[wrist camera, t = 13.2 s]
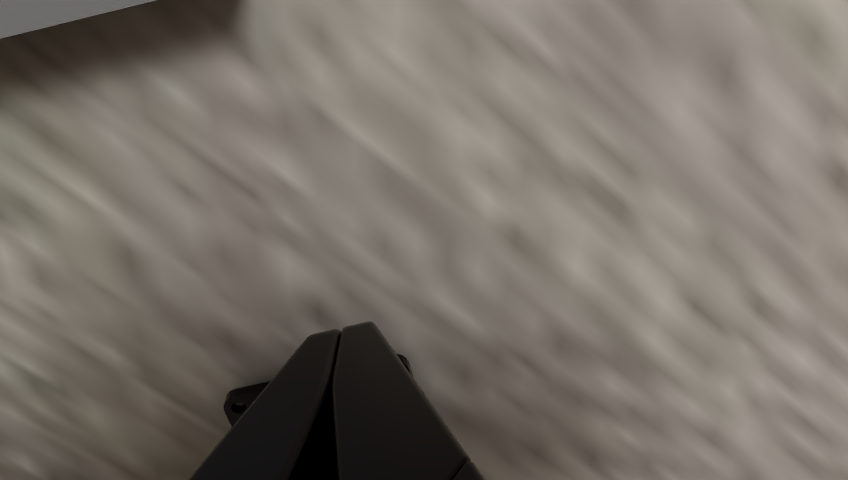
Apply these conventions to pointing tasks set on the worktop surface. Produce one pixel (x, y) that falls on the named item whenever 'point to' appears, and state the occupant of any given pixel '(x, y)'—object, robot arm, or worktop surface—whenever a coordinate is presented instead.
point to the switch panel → (52, 12)
